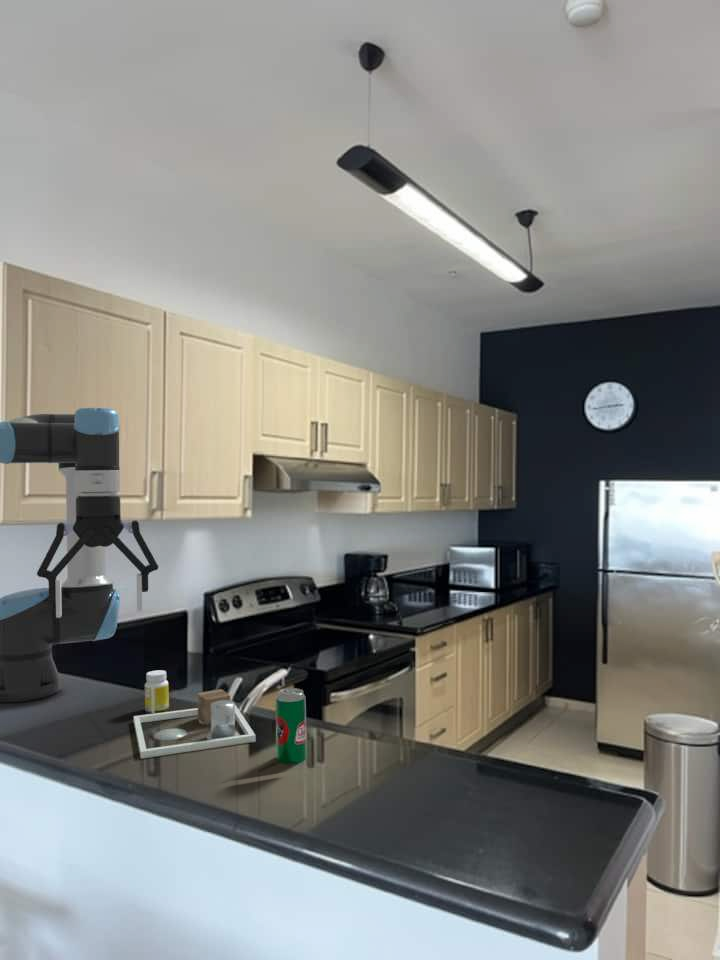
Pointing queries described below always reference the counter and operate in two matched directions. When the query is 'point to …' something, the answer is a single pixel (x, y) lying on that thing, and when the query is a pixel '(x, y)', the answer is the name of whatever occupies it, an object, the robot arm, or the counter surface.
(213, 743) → the collection tray
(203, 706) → the walnut block
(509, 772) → the counter surface
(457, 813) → the counter surface
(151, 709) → the supplement bottle
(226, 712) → the translucent grey cylinder
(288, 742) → the soda can
